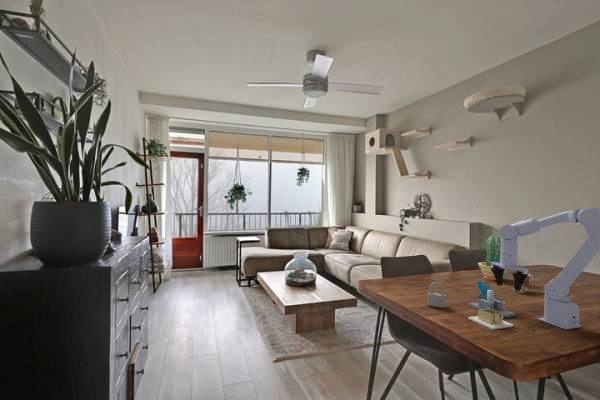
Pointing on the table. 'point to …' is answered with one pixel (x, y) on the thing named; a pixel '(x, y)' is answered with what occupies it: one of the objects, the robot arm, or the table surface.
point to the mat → (493, 326)
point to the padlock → (436, 297)
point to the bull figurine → (524, 283)
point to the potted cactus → (491, 256)
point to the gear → (484, 289)
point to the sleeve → (490, 316)
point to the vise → (491, 304)
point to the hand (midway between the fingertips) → (508, 287)
